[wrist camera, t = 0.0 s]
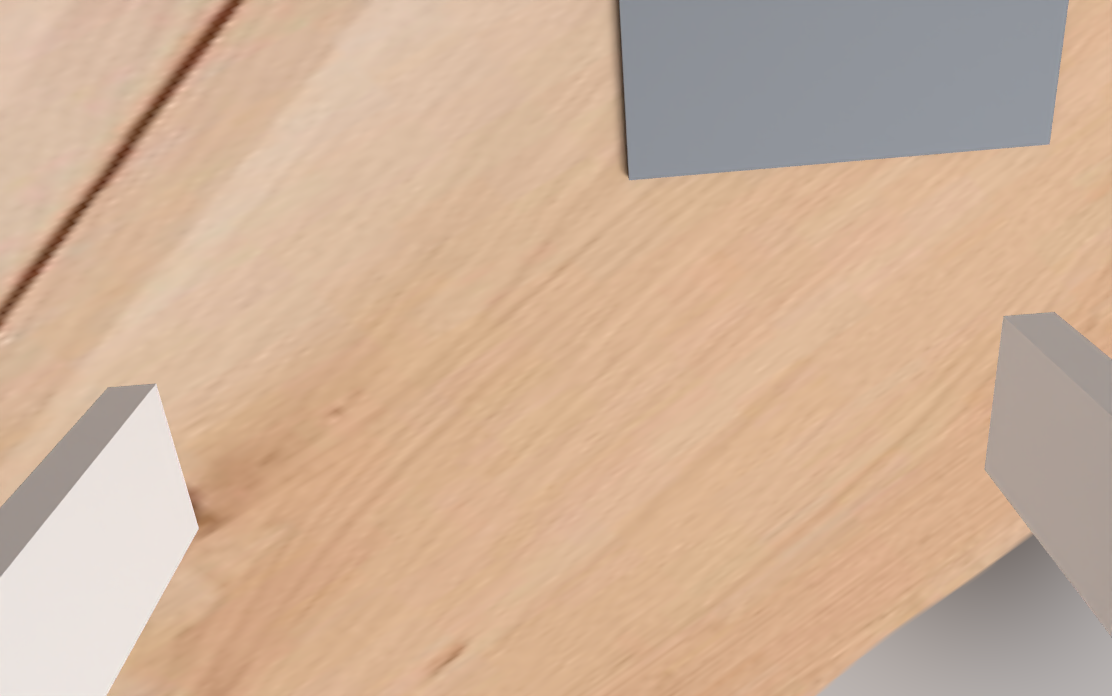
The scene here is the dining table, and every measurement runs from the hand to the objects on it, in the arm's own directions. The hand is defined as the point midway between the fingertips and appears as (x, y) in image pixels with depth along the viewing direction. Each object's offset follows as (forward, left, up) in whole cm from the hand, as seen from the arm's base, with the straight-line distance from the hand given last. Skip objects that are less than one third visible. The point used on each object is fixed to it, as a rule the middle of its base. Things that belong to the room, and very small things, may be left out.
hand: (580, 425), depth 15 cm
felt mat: (-3, +12, -28) cm, 31 cm away
